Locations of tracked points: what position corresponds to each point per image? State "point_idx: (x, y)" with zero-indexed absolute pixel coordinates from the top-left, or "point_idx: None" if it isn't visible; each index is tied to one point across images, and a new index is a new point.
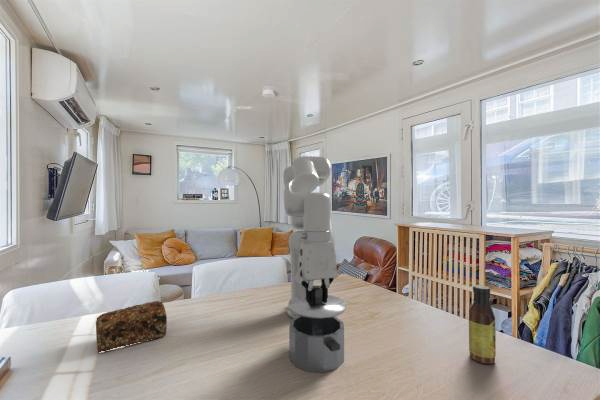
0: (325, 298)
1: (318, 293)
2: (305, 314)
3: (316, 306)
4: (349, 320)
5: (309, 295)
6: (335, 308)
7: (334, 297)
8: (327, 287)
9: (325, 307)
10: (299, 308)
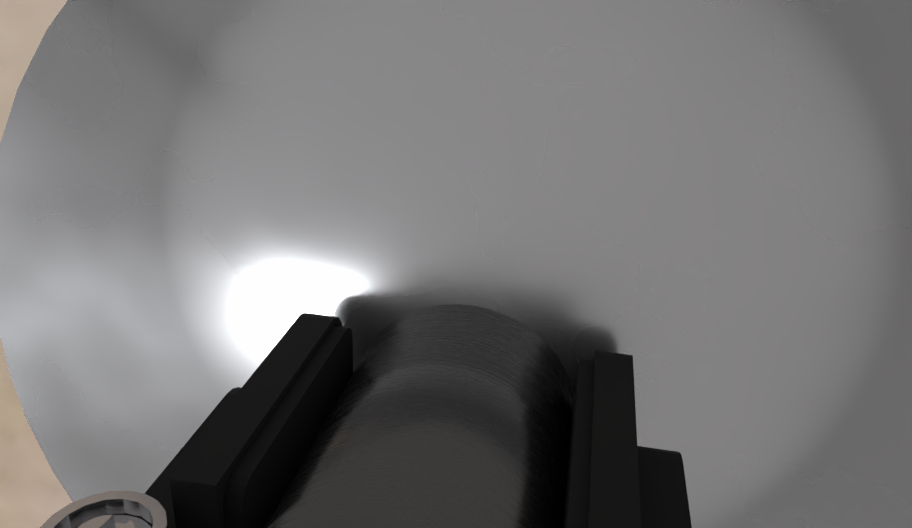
0: (307, 355)
1: (454, 455)
2: None
3: (553, 298)
4: (35, 446)
5: (659, 524)
6: (275, 34)
7: (76, 444)
8: (128, 518)
9: (426, 175)
10: (902, 383)
